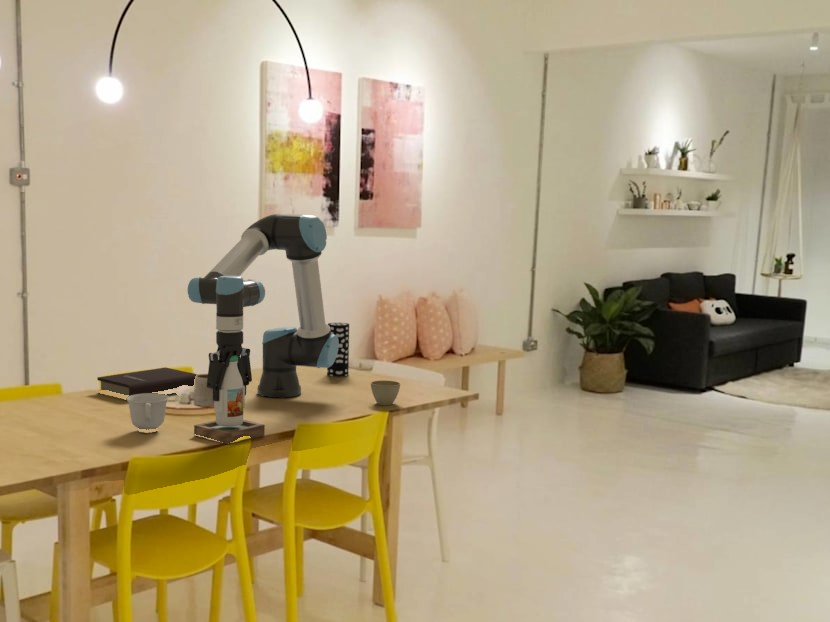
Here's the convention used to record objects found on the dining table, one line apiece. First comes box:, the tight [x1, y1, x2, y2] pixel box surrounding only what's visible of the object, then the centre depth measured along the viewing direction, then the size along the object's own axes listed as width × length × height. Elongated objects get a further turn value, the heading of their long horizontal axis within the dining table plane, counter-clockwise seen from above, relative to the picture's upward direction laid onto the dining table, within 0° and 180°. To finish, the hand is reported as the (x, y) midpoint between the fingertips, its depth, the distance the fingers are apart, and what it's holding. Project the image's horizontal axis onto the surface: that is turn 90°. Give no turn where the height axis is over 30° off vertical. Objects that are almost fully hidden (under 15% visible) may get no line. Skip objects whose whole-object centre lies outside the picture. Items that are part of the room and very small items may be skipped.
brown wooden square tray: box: [193, 419, 266, 445], centre depth 268 cm, size 14×14×3 cm
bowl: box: [370, 379, 401, 406], centre depth 315 cm, size 10×10×7 cm
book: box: [96, 366, 198, 396], centre depth 325 cm, size 28×20×6 cm
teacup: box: [126, 393, 170, 430], centre depth 269 cm, size 12×15×10 cm
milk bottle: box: [215, 355, 244, 426], centre depth 267 cm, size 8×8×20 cm
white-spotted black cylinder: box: [326, 322, 350, 378], centre depth 364 cm, size 8×8×20 cm
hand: (229, 409), depth 267 cm, fingers closed on milk bottle, 8 cm apart
